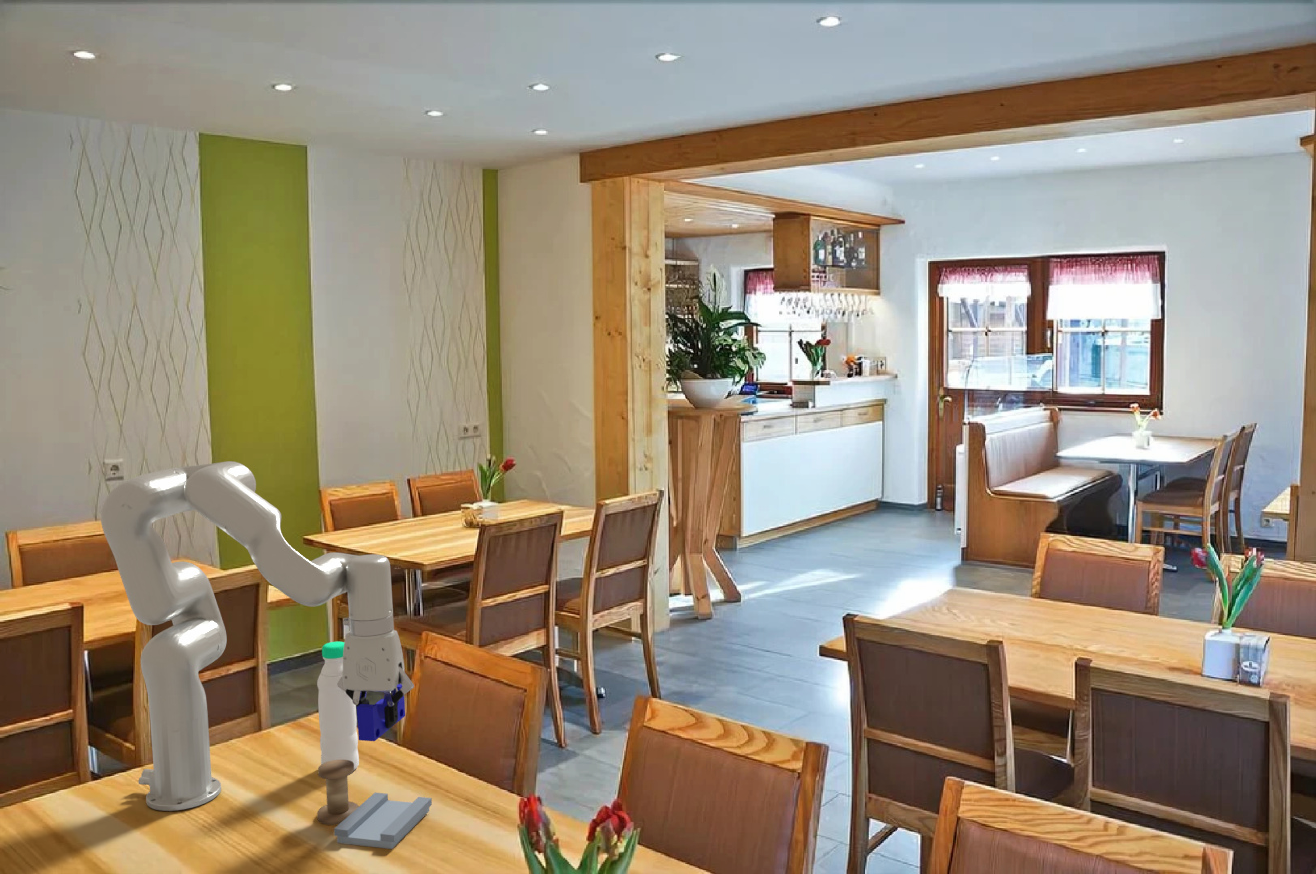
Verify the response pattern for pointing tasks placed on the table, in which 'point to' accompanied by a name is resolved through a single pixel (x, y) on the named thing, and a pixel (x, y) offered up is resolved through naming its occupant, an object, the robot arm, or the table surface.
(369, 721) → the cable clip
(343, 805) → the door knob
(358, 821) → the notched board
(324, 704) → the water bottle
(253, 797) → the table surface
